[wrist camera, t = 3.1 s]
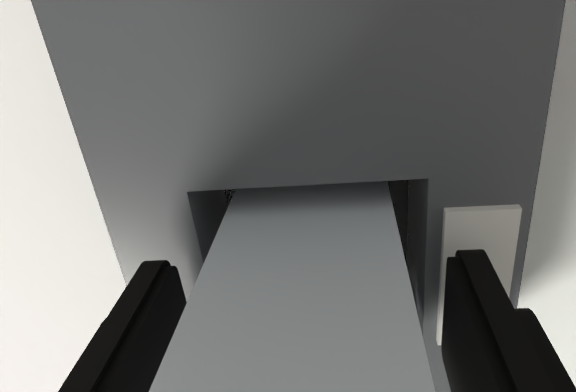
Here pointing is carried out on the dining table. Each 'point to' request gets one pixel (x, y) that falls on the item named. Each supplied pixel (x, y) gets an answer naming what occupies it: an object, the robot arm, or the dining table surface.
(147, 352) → the robot arm
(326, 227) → the plug
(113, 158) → the panel
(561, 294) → the dining table surface
